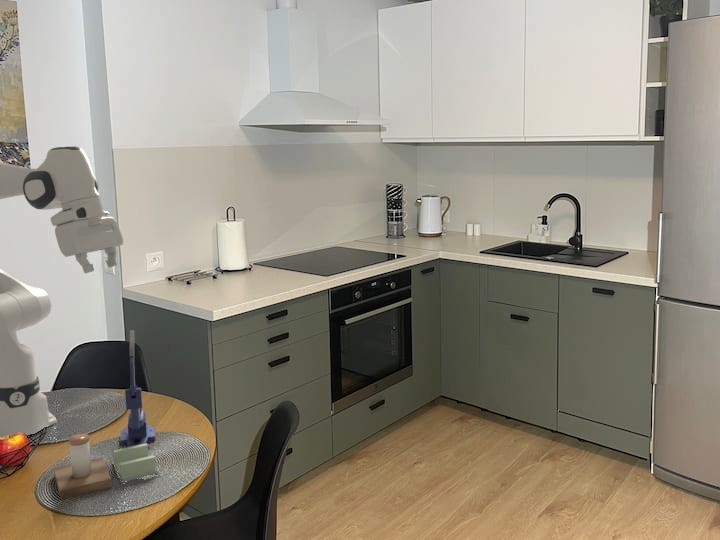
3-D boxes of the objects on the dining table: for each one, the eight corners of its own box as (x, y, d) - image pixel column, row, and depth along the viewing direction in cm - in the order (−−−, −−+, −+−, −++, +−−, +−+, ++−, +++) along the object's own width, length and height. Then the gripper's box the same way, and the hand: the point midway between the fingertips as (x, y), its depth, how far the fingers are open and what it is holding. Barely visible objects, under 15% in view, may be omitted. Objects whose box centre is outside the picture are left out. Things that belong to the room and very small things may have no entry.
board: (54, 477, 163) (53, 468, 163) (102, 466, 169) (102, 457, 168) (61, 501, 153) (60, 491, 153) (112, 488, 159) (111, 478, 158)
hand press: (155, 453, 176) (148, 349, 170) (119, 457, 173) (111, 352, 168) (155, 423, 193) (148, 328, 188) (122, 427, 191) (115, 330, 185)
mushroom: (70, 471, 161) (67, 436, 159) (90, 467, 163) (87, 432, 161) (73, 479, 157) (70, 443, 156) (93, 475, 160) (90, 439, 158)
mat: (110, 462, 171) (110, 461, 170) (147, 454, 175) (147, 453, 175) (122, 488, 159) (122, 486, 159) (161, 478, 163) (161, 476, 163)
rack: (114, 464, 169) (112, 449, 168) (146, 456, 173) (145, 442, 172) (122, 482, 161) (121, 466, 160) (156, 473, 164) (155, 458, 164)
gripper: (98, 213, 172) (114, 266, 173) (45, 219, 152) (63, 279, 153) (120, 207, 170) (136, 260, 171) (68, 212, 151) (87, 272, 152)
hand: (101, 269), depth 162 cm, fingers open, 8 cm apart
